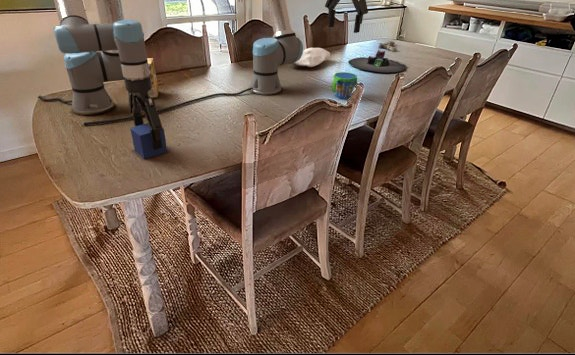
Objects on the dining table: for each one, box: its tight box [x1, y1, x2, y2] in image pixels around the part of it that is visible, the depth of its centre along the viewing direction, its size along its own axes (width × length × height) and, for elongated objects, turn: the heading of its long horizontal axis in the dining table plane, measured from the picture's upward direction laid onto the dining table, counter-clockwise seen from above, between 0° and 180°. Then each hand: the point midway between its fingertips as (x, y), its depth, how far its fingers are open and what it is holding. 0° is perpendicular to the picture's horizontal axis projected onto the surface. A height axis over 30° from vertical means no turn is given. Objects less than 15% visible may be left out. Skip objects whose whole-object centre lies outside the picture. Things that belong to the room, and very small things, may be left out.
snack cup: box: [330, 71, 358, 100], centre depth 171 cm, size 16×10×10 cm
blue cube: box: [129, 122, 168, 160], centre depth 120 cm, size 8×7×8 cm
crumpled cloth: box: [290, 47, 331, 68], centre depth 217 cm, size 24×35×9 cm
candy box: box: [147, 57, 160, 98], centre depth 163 cm, size 9×4×15 cm, turn 13°
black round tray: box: [347, 49, 407, 74], centre depth 221 cm, size 35×35×9 cm
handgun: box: [378, 40, 398, 52], centre depth 263 cm, size 3×18×15 cm
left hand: (149, 141), depth 121 cm, fingers open, 12 cm apart
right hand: (343, 29), depth 149 cm, fingers open, 13 cm apart
